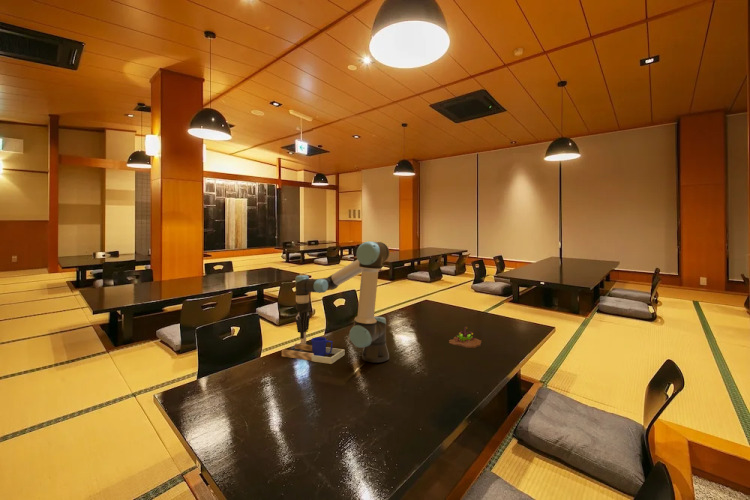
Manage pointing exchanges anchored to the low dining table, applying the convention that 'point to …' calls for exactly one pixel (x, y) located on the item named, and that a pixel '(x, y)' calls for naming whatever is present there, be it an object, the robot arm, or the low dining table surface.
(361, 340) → the robot arm
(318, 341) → the mug
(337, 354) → the tray
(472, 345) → the plant
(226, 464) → the low dining table surface
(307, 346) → the wooden serving tray
